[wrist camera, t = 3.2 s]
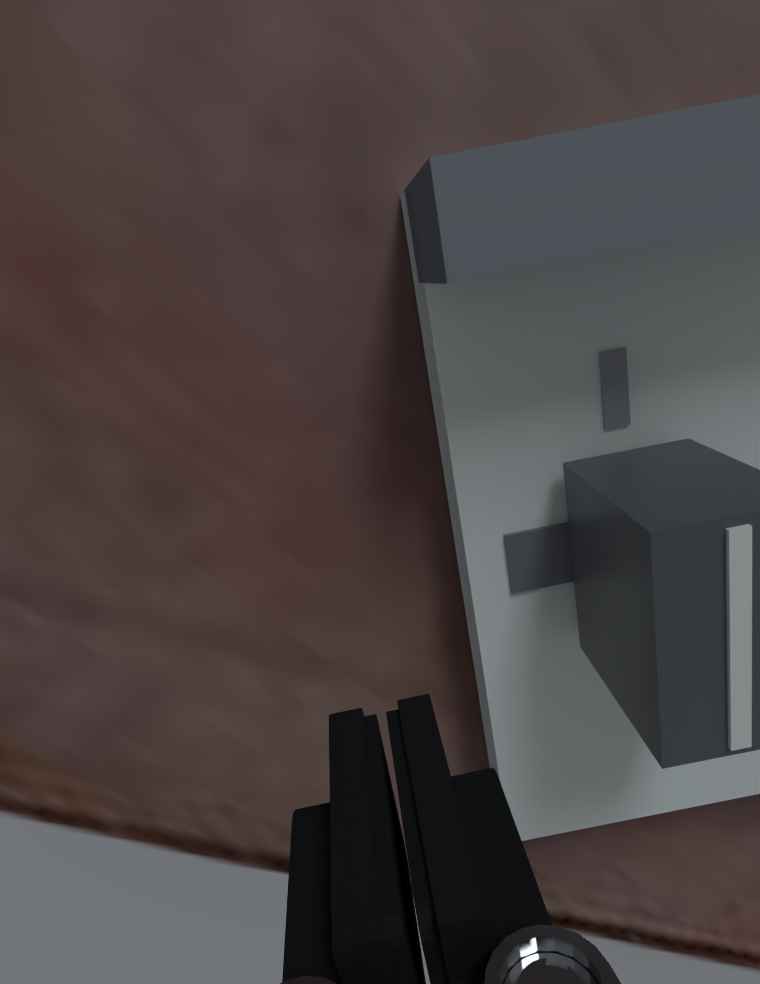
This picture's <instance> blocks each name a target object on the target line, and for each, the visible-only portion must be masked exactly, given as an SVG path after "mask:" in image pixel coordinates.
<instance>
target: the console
mask: <svg viewBox="0 0 760 984" xmlns="http://www.w3.org/2000/svg"><path fill="white" fill-rule="evenodd" d="M400 198H401V205H402V211H403V217H404V224H405V230H406V237H407V243H408V249H409V256H410V262H411V268H412V275H413V281H414V288H415V294H416V300H417V307H418V313H419V319H420V326H421V332H422V339H423V345H424V351H425V358H426V364H427V371H428V377H429V383H430V390H431V396H432V402H433V409H434V415H435V422H436V428H437V434H438V441H439V447H440V453H441V460H442V466H443V473H444V479H445V485H446V492H447V498H448V504H449V511H450V517H451V524H452V530H453V536H454V543H455V549H456V556H457V562H458V568H459V575H460V581H461V587H462V594H463V600H464V607H465V613H466V619H467V626H468V632H469V638H470V645H471V651H472V658H473V664H474V670H475V677H476V683H477V689H478V696H479V702H480V709H481V715H482V721H483V728H484V734H485V740H486V747H487V753H488V760H489V766H490V768H494V769H495V770H496V772H497V775H498V777H499V780H500V783H501V785H502V788H503V791H504V794H505V797H506V799H507V802H508V805H509V808H510V810H511V813H512V816H513V819H514V821H515V824H516V827H517V830H518V832H519V835H520V838H521V841H524V840H529V839H535V838H540V837H545V836H550V835H555V834H560V833H565V832H570V831H575V830H580V829H585V828H590V827H595V826H600V825H605V824H610V823H615V822H620V821H625V820H630V819H635V818H640V817H645V816H650V815H655V814H661V813H666V812H671V811H676V810H681V809H686V808H691V807H696V806H701V805H706V804H711V803H716V802H721V801H726V800H731V799H736V798H741V797H746V796H751V795H756V794H760V750H755V751H750V752H745V753H740V754H735V755H730V756H725V757H720V758H715V759H710V760H705V761H700V762H695V763H690V764H685V765H679V766H674V767H669V768H664V769H662V768H661V766H660V765H659V763H658V762H657V760H656V759H655V757H654V756H653V754H652V753H651V752H650V750H649V749H648V747H647V746H646V744H645V743H644V741H643V740H642V738H641V737H640V735H639V734H638V732H637V731H636V729H635V728H634V726H633V725H632V723H631V722H630V720H629V719H628V717H627V716H626V714H625V713H624V711H623V710H622V708H621V707H620V705H619V704H618V702H617V701H616V699H615V698H614V696H613V695H612V693H611V692H610V690H609V689H608V688H607V686H606V685H605V683H604V682H603V680H602V679H601V677H600V676H599V674H598V673H597V671H596V670H595V668H594V667H593V665H592V664H591V662H590V661H589V659H588V658H587V656H586V655H585V653H584V652H583V650H582V649H581V647H580V640H579V630H578V619H577V609H576V598H575V587H574V577H573V566H572V556H571V545H570V535H569V524H568V513H567V503H566V492H565V482H564V471H563V463H564V462H569V461H575V460H580V459H585V458H590V457H595V456H600V455H606V454H611V453H616V452H621V451H626V450H631V449H636V448H642V447H647V446H652V445H657V444H662V443H667V442H672V441H678V440H683V439H688V438H689V439H691V440H694V441H696V442H698V443H700V444H703V445H705V446H707V447H709V448H712V449H714V450H716V451H718V452H721V453H723V454H725V455H727V456H730V457H732V458H734V459H736V460H739V461H741V462H743V463H745V464H748V465H750V466H752V467H754V468H757V469H759V470H760V95H755V96H749V97H744V98H739V99H734V100H728V101H723V102H718V103H713V104H707V105H702V106H697V107H692V108H686V109H681V110H676V111H671V112H665V113H660V114H655V115H650V116H644V117H639V118H634V119H629V120H623V121H618V122H613V123H608V124H602V125H597V126H592V127H587V128H581V129H576V130H571V131H566V132H560V133H555V134H550V135H545V136H539V137H534V138H529V139H524V140H518V141H513V142H508V143H503V144H497V145H492V146H487V147H482V148H476V149H471V150H466V151H461V152H455V153H450V154H445V155H440V156H434V157H429V159H428V160H427V161H426V163H425V164H424V165H423V166H422V168H421V169H420V170H419V172H418V173H417V174H416V176H415V177H414V178H413V179H412V181H411V182H410V183H409V185H408V186H407V187H406V188H405V190H404V191H403V192H402V194H401V195H400Z"/></svg>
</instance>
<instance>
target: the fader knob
mask: <svg viewBox="0 0 760 984" xmlns="http://www.w3.org/2000/svg"><path fill="white" fill-rule="evenodd" d="M563 471H564V482H565V492H566V503H567V513H568V524H569V535H570V545H571V556H572V566H573V577H574V587H575V598H576V609H577V619H578V630H579V640H580V647H581V649H582V650H583V652H584V653H585V655H586V656H587V658H588V659H589V661H590V662H591V664H592V665H593V667H594V668H595V670H596V671H597V673H598V674H599V676H600V677H601V679H602V680H603V682H604V683H605V685H606V686H607V688H608V689H609V690H610V692H611V693H612V695H613V696H614V698H615V699H616V701H617V702H618V704H619V705H620V707H621V708H622V710H623V711H624V713H625V714H626V716H627V717H628V719H629V720H630V722H631V723H632V725H633V726H634V728H635V729H636V731H637V732H638V734H639V735H640V737H641V738H642V740H643V741H644V743H645V744H646V746H647V747H648V749H649V750H650V752H651V753H652V754H653V756H654V757H655V759H656V760H657V762H658V763H659V765H660V766H661V768H662V769H664V768H669V767H674V766H679V765H685V764H690V763H695V762H700V761H705V760H710V759H715V758H720V757H725V756H730V755H735V754H740V753H745V752H750V751H755V750H760V470H759V469H757V468H754V467H752V466H750V465H748V464H745V463H743V462H741V461H739V460H736V459H734V458H732V457H730V456H727V455H725V454H723V453H721V452H718V451H716V450H714V449H712V448H709V447H707V446H705V445H703V444H700V443H698V442H696V441H694V440H691V439H689V438H688V439H683V440H678V441H672V442H667V443H662V444H657V445H652V446H647V447H642V448H636V449H631V450H626V451H621V452H616V453H611V454H606V455H600V456H595V457H590V458H585V459H580V460H575V461H569V462H564V463H563Z"/></svg>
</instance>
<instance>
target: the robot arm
mask: <svg viewBox="0 0 760 984" xmlns="http://www.w3.org/2000/svg"><path fill="white" fill-rule="evenodd" d="M397 702H398V708H399V709H398V710H393V711H389V712H386V715H387V722H388V728H389V735H390V742H391V748H392V755H393V762H394V768H395V775H396V782H397V788H398V795H399V802H400V809H401V815H402V822H403V829H404V835H405V842H406V849H407V855H408V861H407V855H406V849H405V844H404V839H403V834H402V830H401V825H400V821H399V816H398V812H397V807H396V802H395V798H394V793H393V789H392V784H391V779H390V775H389V770H388V766H387V761H386V756H385V752H384V747H383V743H382V738H381V733H380V729H379V724H378V720H377V716H376V714H374V715H369V716H365V717H364V713H363V710H362V708H358V709H353V710H348V711H344V712H339V713H334V714H330V715H329V762H330V802H329V803H324V804H320V805H315V806H310V807H305V808H301V809H296V810H295V811H294V813H293V818H292V830H291V847H290V864H289V881H288V897H287V915H286V931H285V948H284V964H283V981H282V983H281V984H426V982H425V975H424V968H423V961H422V955H421V949H420V941H419V935H418V928H417V921H416V914H417V920H418V926H419V931H420V936H421V942H422V946H423V951H424V956H425V960H426V965H427V969H428V974H429V978H430V983H431V984H621V983H620V981H619V979H618V978H617V976H616V974H615V973H614V971H613V969H612V968H611V966H610V964H609V963H608V962H607V960H606V959H605V958H604V957H603V956H602V954H601V953H600V951H599V950H598V949H597V948H596V946H594V945H593V944H592V943H590V942H589V941H587V940H586V939H585V938H583V937H582V936H581V935H579V934H578V933H575V932H573V931H570V930H568V929H565V928H562V927H560V926H552V924H551V921H550V918H549V915H548V913H547V910H546V907H545V904H544V902H543V899H542V896H541V893H540V891H539V888H538V885H537V882H536V879H535V877H534V874H533V871H532V868H531V866H530V863H529V860H528V857H527V855H526V852H525V849H524V846H523V844H522V841H521V838H520V835H519V832H518V830H517V827H516V824H515V821H514V819H513V816H512V813H511V810H510V808H509V805H508V802H507V799H506V797H505V794H504V791H503V788H502V785H501V783H500V780H499V777H498V775H497V772H496V770H495V769H494V768H489V769H485V770H480V771H475V772H470V773H466V774H461V775H456V776H452V777H451V775H450V771H449V768H448V764H447V760H446V756H445V752H444V749H443V745H442V741H441V737H440V733H439V730H438V726H437V722H436V718H435V714H434V711H433V707H432V703H431V699H430V696H429V694H425V695H420V696H416V697H411V698H406V699H401V700H397ZM408 862H409V867H408ZM409 869H410V874H409ZM410 875H411V880H410ZM411 882H412V887H411ZM412 889H413V894H412ZM413 895H414V901H413ZM414 902H415V907H414ZM415 908H416V914H415Z"/></svg>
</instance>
